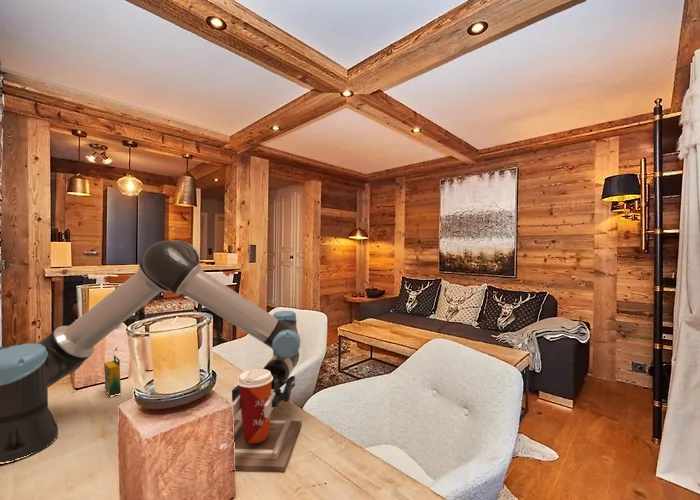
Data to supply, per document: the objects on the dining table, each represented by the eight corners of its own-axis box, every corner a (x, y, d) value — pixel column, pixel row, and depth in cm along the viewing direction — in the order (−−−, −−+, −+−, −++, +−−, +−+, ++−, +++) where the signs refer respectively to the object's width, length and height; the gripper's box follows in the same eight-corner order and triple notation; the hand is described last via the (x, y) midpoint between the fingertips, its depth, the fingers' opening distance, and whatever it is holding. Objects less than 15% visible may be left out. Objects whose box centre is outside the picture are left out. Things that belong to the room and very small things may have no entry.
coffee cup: (264, 448, 75) (263, 382, 75) (231, 444, 77) (230, 380, 76) (280, 427, 83) (278, 368, 83) (250, 424, 85) (248, 366, 85)
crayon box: (104, 391, 110) (103, 356, 110) (115, 388, 112) (114, 354, 112) (110, 398, 105) (109, 362, 105) (121, 395, 108) (120, 359, 107)
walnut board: (202, 469, 71) (201, 458, 71) (235, 424, 89) (235, 415, 89) (284, 472, 70) (284, 460, 70) (301, 425, 88) (301, 416, 88)
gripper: (310, 384, 97) (293, 428, 74) (244, 384, 98) (206, 427, 75) (310, 359, 97) (292, 395, 74) (243, 358, 98) (205, 394, 75)
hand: (249, 411), depth 75 cm, fingers closed on coffee cup, 7 cm apart
